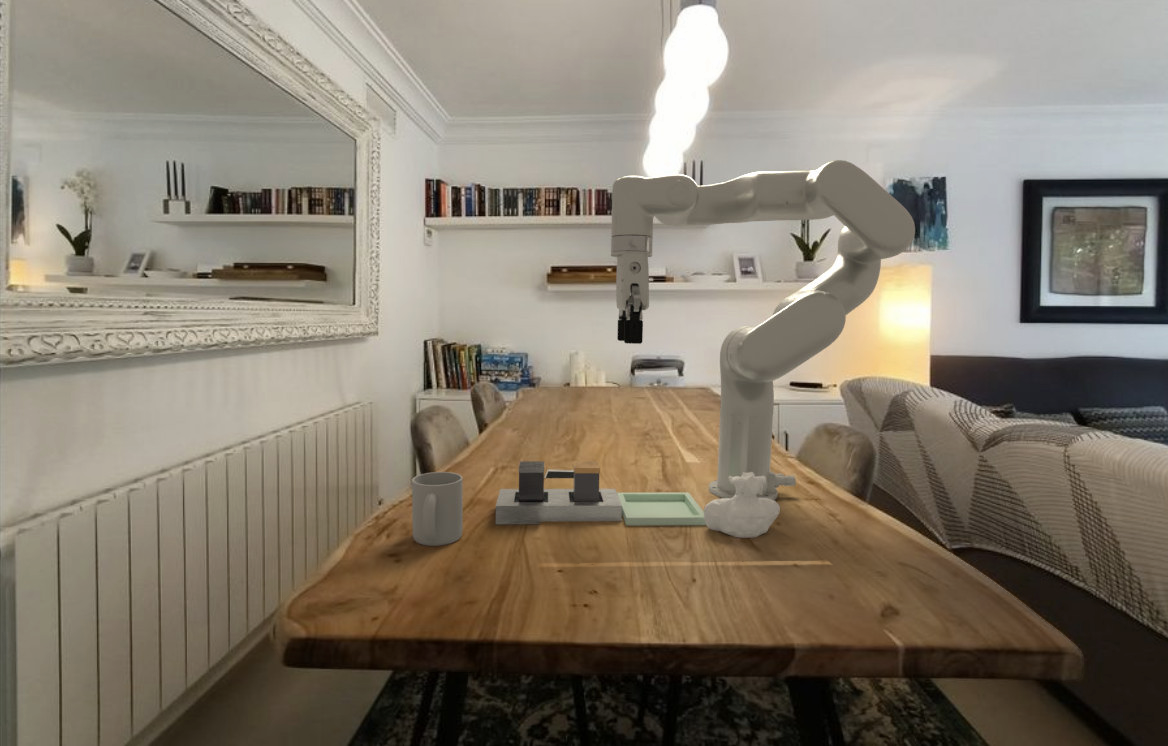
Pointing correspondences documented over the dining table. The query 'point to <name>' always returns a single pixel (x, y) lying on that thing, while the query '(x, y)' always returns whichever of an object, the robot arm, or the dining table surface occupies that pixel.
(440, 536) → the cup
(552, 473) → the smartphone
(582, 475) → the rectangular block
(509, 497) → the pdu strip
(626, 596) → the dining table surface
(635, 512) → the tray
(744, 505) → the white tied sack
